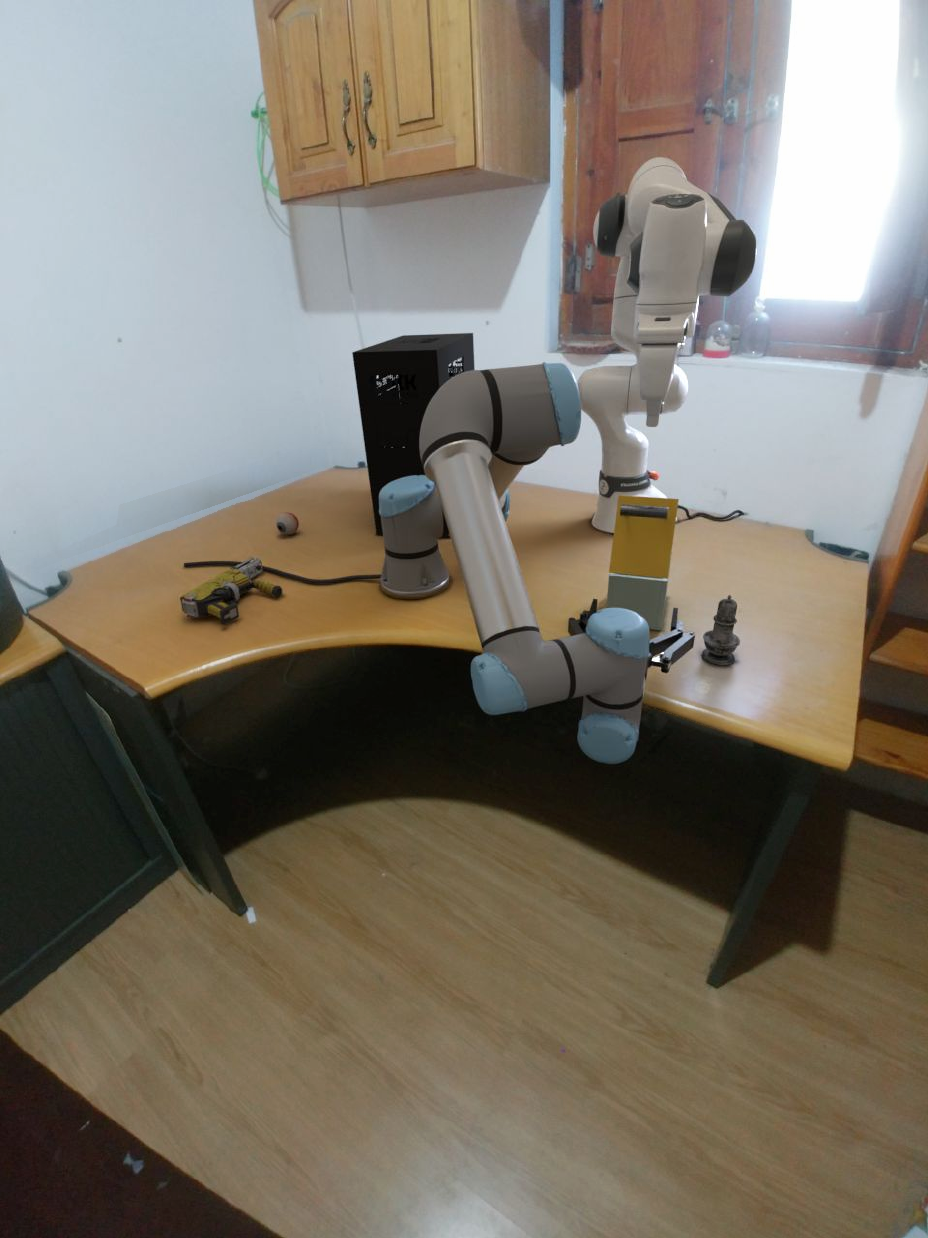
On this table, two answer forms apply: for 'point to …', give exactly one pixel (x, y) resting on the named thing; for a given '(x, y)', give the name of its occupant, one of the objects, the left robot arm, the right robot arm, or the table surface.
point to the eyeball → (287, 523)
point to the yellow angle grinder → (226, 592)
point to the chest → (639, 596)
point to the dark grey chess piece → (722, 635)
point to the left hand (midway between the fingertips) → (634, 609)
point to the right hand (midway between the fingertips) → (654, 419)
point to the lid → (643, 536)
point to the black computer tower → (402, 400)
